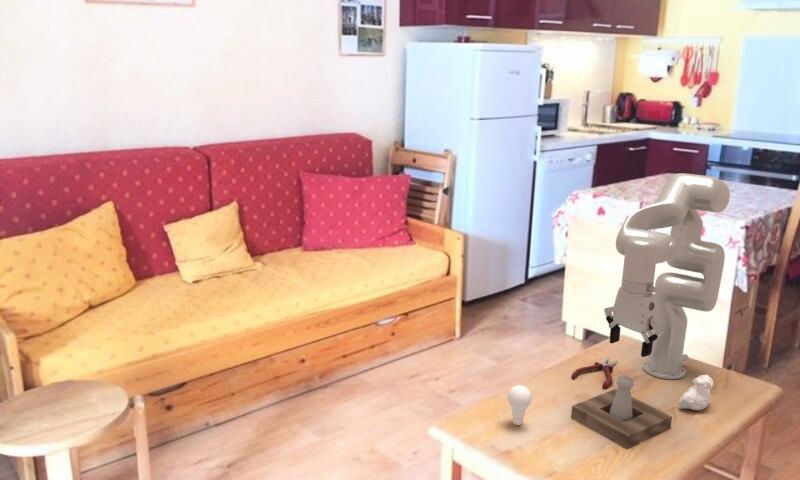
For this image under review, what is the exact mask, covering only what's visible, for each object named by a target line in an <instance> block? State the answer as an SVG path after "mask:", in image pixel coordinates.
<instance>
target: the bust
mask: <svg viewBox="0 0 800 480" xmlns="http://www.w3.org/2000/svg"><path fill="white" fill-rule="evenodd" d="M692 383H693V384H694V385H693V386H691V387H689V388H688V389H687V390H686V391H685V392H684V393H683V394H682V395H681V396H680V398H679V401H678V406H679V408H680V409H682V410H685V409H686V410H692V411H698V412H700V411H701V410H704V409H705V408H707V407H708V406H709V403H710V401H711V389H712V388H713V386H714V379H712V378H711V377H710V376H709V375H708V374H703V375H701V374H700V375H698V377H695V378H693V379H692Z"/></svg>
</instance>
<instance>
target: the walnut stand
mask: <svg viewBox="0 0 800 480" xmlns="http://www.w3.org/2000/svg"><path fill="white" fill-rule="evenodd" d="M616 391H617V388H615V389H612V390H609V391H607V392H604V393H601V394H599V395H596V396H594V397H591V398H589V399H585V400H584V401H581V402H578V403H576V404H573V405H572V406H571V413H570V418H571V419H573V420H575V421H577V422H578V423H580V424H582V425H584V426H586V427H588V428H589V429H591V430H592V431H594V432H596V433H598V434H600V435H601V436H602V437H603V436H604V437H605V438H607V439H609V440H611V441H612V442H614V443H615V444H618V445H620V446H621V447H623V448H625V449H626V450H627V449H630V448H632V447H634V446H636V445H639V444H642V442H644V441H647V440H649V439H651V438H653V437H655V436H657V435H659V434H662V433H664V432H666V431H668V430H671V428H672V421H673V416H672V415H671V414H668V413H667V412H663V411H662V410H659V409H657V408H656V407H654V406H652V405H650V404H647V403H645V402H643V401H641V400H639V399H637V398H635V397H633V396H631V402H632V415H633V417H632V419H630V420H628V421H625V422H624V421H622V420H620V419H618V418H616V417H615V416H613V415H611V414H610V409H611V406H612V403H613V400H614V397H615V394H616Z"/></svg>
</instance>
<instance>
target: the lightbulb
mask: <svg viewBox="0 0 800 480" xmlns="http://www.w3.org/2000/svg"><path fill="white" fill-rule="evenodd" d="M531 393H532V392H531V391H530V390H529V389H528V388H527V387H526V386H525V385H519V384H518V385H514V386H513V387H511V388H510V389H509V391H508V393H507V401H508V403H509V406H510V408H511V416H512V422H513V423H512V424H514V425H515V426H520V425H522V424H523V421H524V417H525V413H526V410H527V409H528V407H529V406H530V405H531V402H532V398H533V397H532V394H531Z"/></svg>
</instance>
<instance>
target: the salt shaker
mask: <svg viewBox="0 0 800 480" xmlns="http://www.w3.org/2000/svg"><path fill="white" fill-rule="evenodd" d="M615 382H616V386H617V388H616V389H617V391H616V394H615V397H614V400H613V403H612V406H611V409H610V414H611V415H613V416H615V417H616V418H618V419H620V420H622V421H624V422H625V421H628V420H630V419H632V417H633V415H632V402H631V397H632V393H631V390H632V389H633V387H634V385H635V380H634V379H633V378H632V377H631V376H629V375H628V376H627V375H620V376H618V377H617V378H616V381H615Z"/></svg>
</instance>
